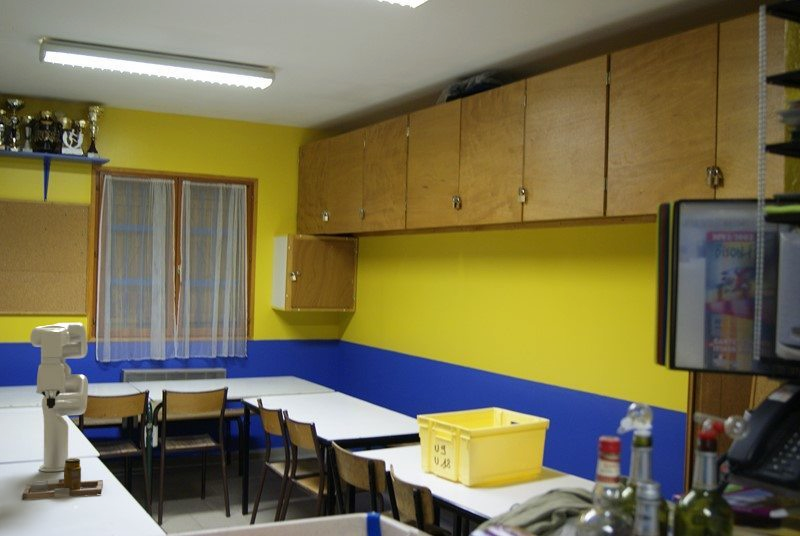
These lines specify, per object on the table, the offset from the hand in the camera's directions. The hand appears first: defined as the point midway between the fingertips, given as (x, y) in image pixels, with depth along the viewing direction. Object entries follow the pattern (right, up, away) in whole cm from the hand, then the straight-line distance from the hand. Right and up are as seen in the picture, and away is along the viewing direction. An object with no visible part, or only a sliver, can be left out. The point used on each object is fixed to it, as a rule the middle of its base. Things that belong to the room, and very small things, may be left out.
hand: (50, 407), depth 328 cm
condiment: (+13, -30, -13) cm, 35 cm away
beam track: (+11, -29, -14) cm, 34 cm away
